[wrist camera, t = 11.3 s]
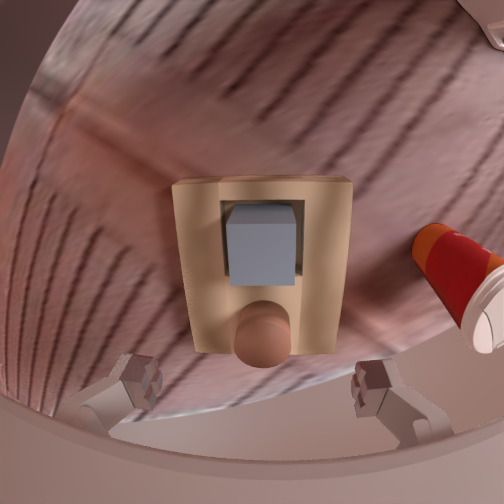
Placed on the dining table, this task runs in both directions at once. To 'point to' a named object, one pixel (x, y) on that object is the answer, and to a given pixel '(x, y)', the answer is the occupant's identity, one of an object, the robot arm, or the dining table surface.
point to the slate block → (262, 245)
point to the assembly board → (264, 297)
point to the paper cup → (464, 283)
